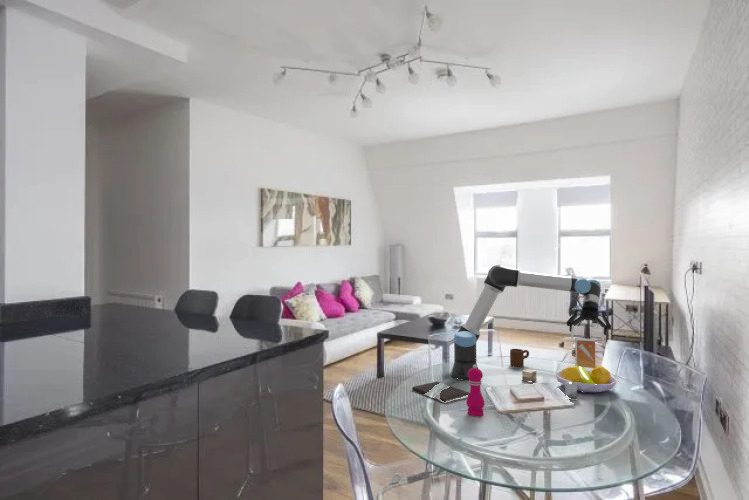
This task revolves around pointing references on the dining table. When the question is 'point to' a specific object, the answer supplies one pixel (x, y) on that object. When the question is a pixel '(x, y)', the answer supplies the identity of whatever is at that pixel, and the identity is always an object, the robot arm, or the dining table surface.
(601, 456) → the dining table surface
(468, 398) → the pepper mill
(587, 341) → the small box
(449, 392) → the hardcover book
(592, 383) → the fruit bowl
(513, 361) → the mug
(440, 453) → the dining table surface
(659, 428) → the dining table surface
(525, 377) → the birch block
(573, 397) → the grey metal tin
